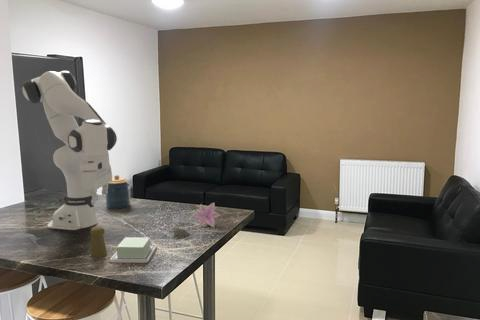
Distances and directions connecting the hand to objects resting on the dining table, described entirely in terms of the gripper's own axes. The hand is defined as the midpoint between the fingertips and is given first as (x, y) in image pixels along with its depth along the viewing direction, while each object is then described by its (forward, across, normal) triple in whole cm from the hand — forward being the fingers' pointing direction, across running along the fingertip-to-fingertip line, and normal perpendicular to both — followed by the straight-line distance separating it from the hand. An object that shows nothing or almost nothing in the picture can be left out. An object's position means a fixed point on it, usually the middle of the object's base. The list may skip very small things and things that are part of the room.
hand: (100, 197), depth 151 cm
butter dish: (+23, +2, +12) cm, 26 cm away
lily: (+23, -34, +37) cm, 55 cm away
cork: (+22, +2, -2) cm, 23 cm away
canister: (+22, -65, -16) cm, 70 cm away
